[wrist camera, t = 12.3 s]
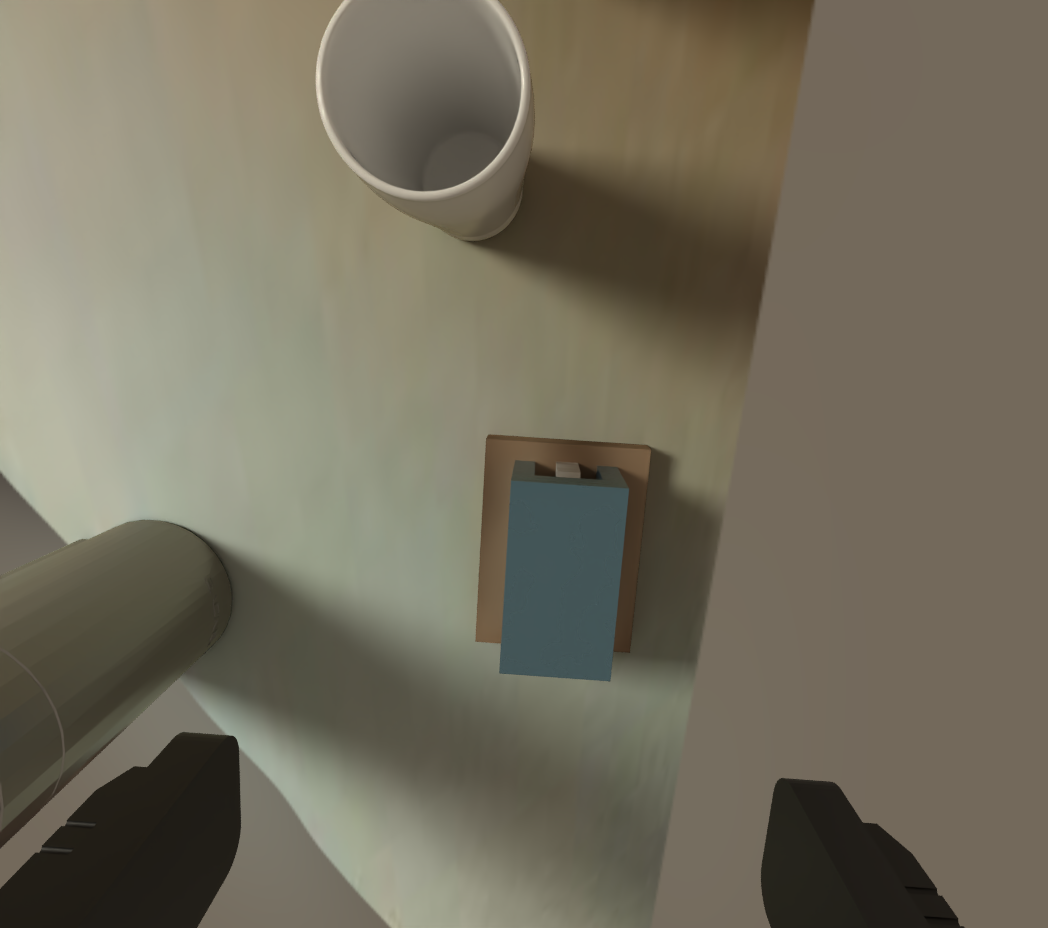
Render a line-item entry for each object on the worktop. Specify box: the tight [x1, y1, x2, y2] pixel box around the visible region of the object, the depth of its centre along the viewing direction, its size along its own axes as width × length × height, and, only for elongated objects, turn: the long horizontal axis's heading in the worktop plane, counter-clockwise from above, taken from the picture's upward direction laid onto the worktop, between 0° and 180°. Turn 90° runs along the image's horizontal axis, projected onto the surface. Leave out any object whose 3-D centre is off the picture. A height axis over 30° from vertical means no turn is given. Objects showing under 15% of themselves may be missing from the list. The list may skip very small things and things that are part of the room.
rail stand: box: [475, 435, 651, 653], centre depth 36 cm, size 9×12×4 cm
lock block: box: [499, 460, 629, 681], centre depth 34 cm, size 10×6×5 cm, turn 176°
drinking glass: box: [316, 0, 535, 241], centre depth 27 cm, size 7×7×15 cm
